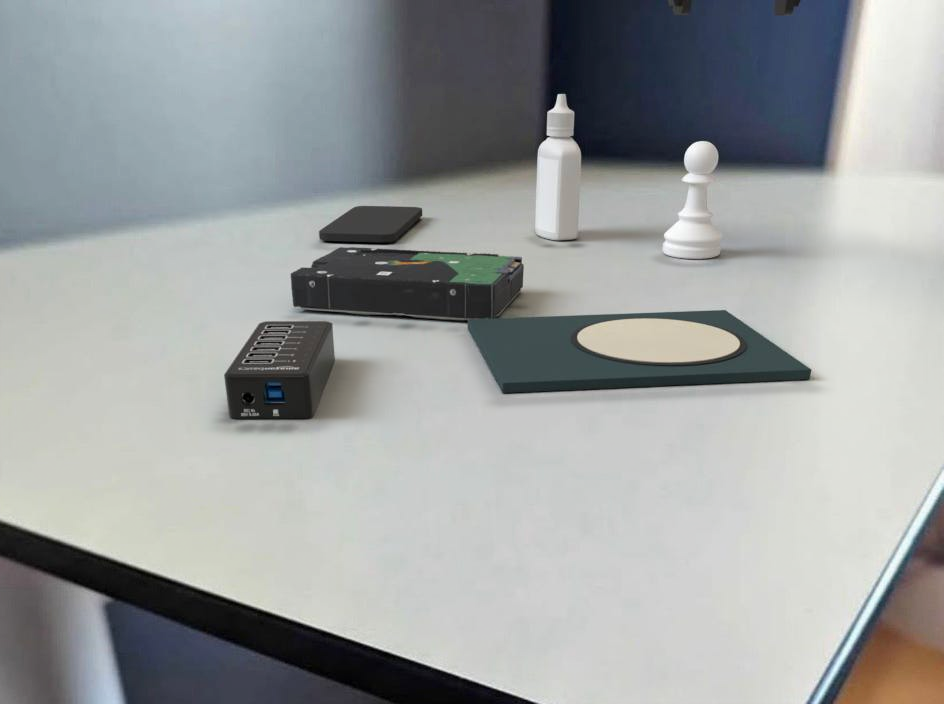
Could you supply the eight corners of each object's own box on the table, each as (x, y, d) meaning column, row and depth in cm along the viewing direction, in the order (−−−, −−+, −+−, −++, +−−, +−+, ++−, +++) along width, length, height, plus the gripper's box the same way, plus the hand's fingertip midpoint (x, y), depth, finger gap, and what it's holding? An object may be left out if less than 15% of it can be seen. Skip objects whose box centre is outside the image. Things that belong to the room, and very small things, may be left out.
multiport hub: (335, 358, 63) (333, 320, 62) (312, 418, 53) (308, 375, 52) (263, 358, 63) (259, 320, 62) (227, 418, 53) (222, 375, 52)
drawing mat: (724, 318, 71) (725, 307, 71) (810, 379, 59) (812, 366, 59) (467, 328, 69) (467, 316, 69) (502, 393, 57) (502, 380, 57)
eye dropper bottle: (529, 240, 96) (533, 96, 89) (536, 230, 100) (541, 92, 94) (576, 242, 95) (583, 96, 89) (581, 231, 100) (588, 92, 93)
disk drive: (291, 314, 73) (496, 324, 70) (287, 273, 71) (496, 281, 68) (340, 282, 81) (524, 289, 78) (337, 245, 80) (525, 251, 77)
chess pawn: (727, 259, 88) (741, 144, 84) (669, 260, 88) (681, 144, 83) (711, 247, 93) (723, 137, 88) (656, 248, 92) (666, 138, 88)
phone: (314, 232, 94) (355, 205, 107) (315, 242, 95) (355, 213, 108) (393, 234, 93) (425, 207, 106) (393, 244, 94) (425, 215, 106)
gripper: (686, -264, 69) (662, 15, 78) (881, -256, 71) (838, 15, 80) (651, -240, 76) (632, 15, 84) (832, -234, 78) (796, 15, 86)
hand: (732, 15), depth 82 cm, fingers open, 8 cm apart
